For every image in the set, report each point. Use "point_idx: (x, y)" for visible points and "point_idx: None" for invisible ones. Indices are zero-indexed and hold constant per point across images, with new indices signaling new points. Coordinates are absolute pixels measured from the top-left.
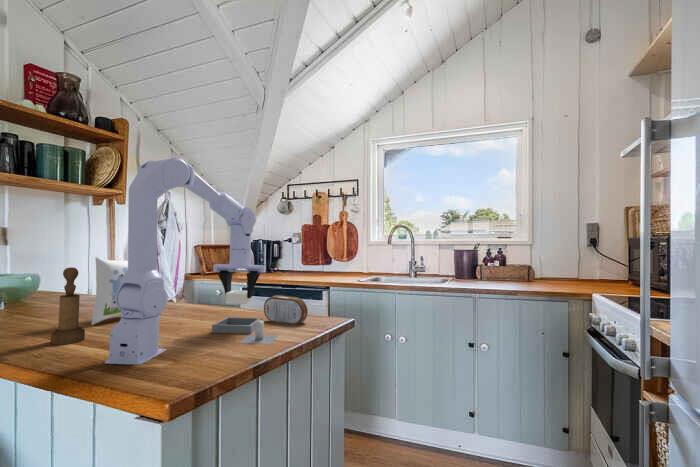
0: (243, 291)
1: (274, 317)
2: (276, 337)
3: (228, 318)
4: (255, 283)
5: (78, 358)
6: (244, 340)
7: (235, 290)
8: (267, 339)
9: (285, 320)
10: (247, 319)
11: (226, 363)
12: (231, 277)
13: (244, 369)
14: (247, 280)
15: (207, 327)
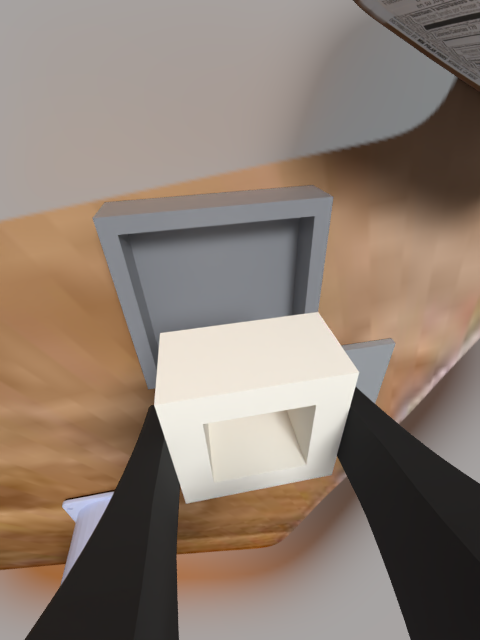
0: (284, 407)
1: (405, 15)
2: (388, 361)
3: (120, 232)
4: (453, 471)
5: (8, 539)
6: None
7: (185, 401)
8: (362, 383)
9: (469, 68)
10: (246, 220)
11: (297, 483)
12: (140, 629)
13: (332, 488)
14: (395, 589)
15: (29, 261)
